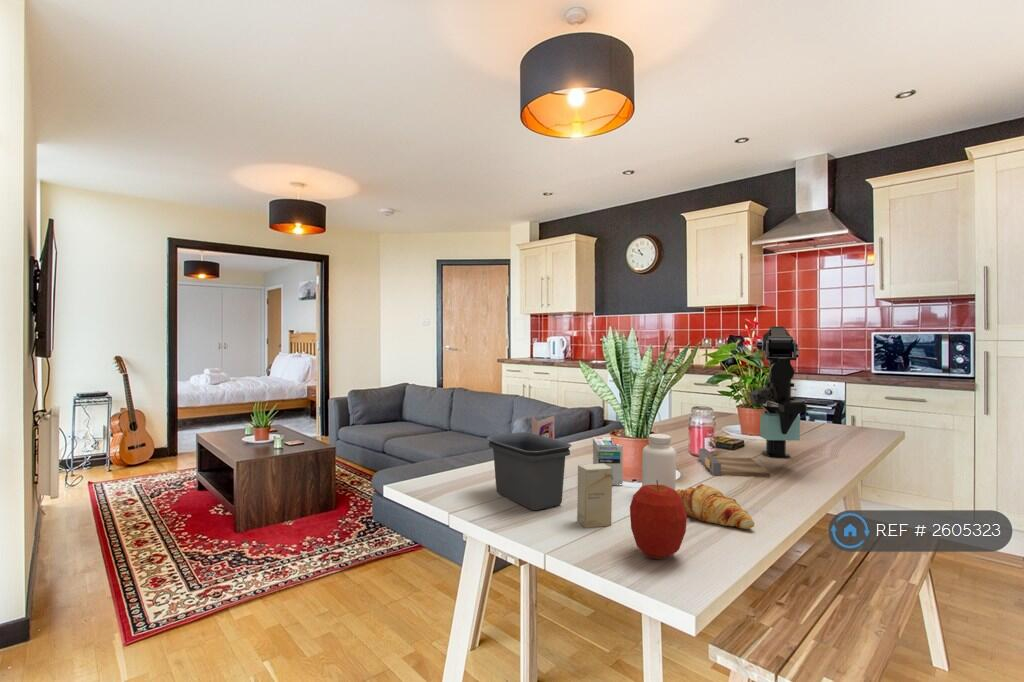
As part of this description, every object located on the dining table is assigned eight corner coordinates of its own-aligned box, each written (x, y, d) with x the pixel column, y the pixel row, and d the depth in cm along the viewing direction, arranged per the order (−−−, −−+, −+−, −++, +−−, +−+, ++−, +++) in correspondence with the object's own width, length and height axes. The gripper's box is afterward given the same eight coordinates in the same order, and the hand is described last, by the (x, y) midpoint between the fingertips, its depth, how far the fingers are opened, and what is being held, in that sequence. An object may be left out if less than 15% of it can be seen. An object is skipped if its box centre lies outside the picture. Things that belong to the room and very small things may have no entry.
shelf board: (706, 460, 159) (706, 456, 159) (750, 461, 157) (750, 457, 157) (721, 475, 142) (721, 471, 142) (770, 477, 140) (770, 473, 140)
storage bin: (481, 492, 128) (481, 435, 127) (531, 482, 136) (531, 429, 136) (530, 518, 110) (530, 452, 109) (584, 504, 118) (584, 444, 118)
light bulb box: (623, 486, 133) (623, 445, 132) (597, 485, 133) (597, 445, 132) (615, 474, 143) (616, 436, 143) (592, 474, 143) (592, 436, 143)
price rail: (698, 459, 160) (698, 448, 160) (705, 459, 160) (705, 448, 160) (712, 475, 142) (712, 463, 142) (720, 475, 142) (720, 463, 142)
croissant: (761, 546, 104) (772, 508, 106) (737, 533, 99) (749, 494, 101) (675, 513, 121) (686, 481, 123) (651, 500, 116) (662, 467, 118)
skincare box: (585, 528, 104) (585, 470, 104) (576, 520, 108) (576, 464, 108) (612, 525, 106) (613, 467, 105) (603, 517, 110) (603, 462, 110)
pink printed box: (539, 474, 143) (539, 421, 143) (516, 470, 147) (517, 419, 146) (556, 465, 153) (556, 415, 153) (535, 462, 157) (535, 413, 156)
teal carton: (759, 436, 151) (760, 413, 151) (790, 436, 151) (790, 413, 151) (767, 440, 146) (768, 416, 146) (799, 440, 146) (799, 416, 145)
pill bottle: (678, 502, 120) (678, 439, 120) (643, 500, 121) (643, 438, 121) (673, 491, 128) (673, 432, 127) (640, 490, 129) (640, 431, 129)
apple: (662, 574, 84) (662, 491, 84) (616, 553, 93) (617, 477, 92) (698, 558, 90) (699, 481, 90) (653, 539, 99) (653, 468, 98)
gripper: (738, 376, 158) (738, 425, 158) (767, 382, 139) (766, 438, 139) (775, 376, 157) (774, 426, 158) (808, 382, 139) (807, 439, 139)
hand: (779, 432), depth 148 cm, fingers closed on teal carton, 5 cm apart
